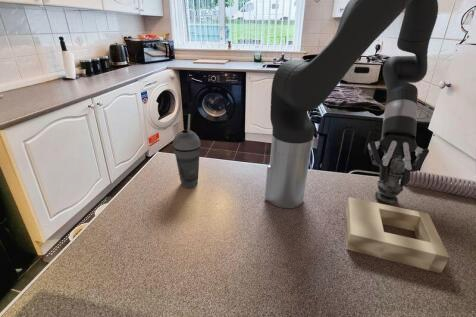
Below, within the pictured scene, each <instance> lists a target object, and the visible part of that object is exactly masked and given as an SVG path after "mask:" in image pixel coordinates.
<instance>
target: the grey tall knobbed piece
mask: <svg viewBox="0 0 476 317" xmlns="http://www.w3.org/2000/svg"><path fill="white" fill-rule="evenodd" d="M401 158H402V157H401V156H399V158H392V159H391V161H390V164H389V166H388V176H387V182H386V183H381V180H380V179H379V180H378V181H377V190H378V191H376V192H375V193H374V196H375V197H376V199H377V200H379V201H381V202H384V203H386V204H396V203H398V201H399V200H398V199H399V198H398V195H399V196H400V194H401V193H402V192H403V191H404V187H402V186H400V181H401V176H403V173H402V171H403V168H404V165H405V162H404V160H402V159H401Z"/></svg>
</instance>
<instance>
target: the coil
mask: <svg viewBox="0 0 476 317" xmlns="http://www.w3.org/2000/svg"><path fill="white" fill-rule="evenodd" d="M406 186H411V187H416V188H420V189H425V190H427V189H428V190H429V189H430V191H431V190H432V189H433V190H432V191H437V192H441V191H442V192H441V193H446V194H450V193H451V194H450V195H456V196H461V197H467V198H470V199H471V198H473V199H476V180H472V179H466V178H465V179H464V178H461V177H460V178H459V177H454V176H450V175H445V174H443V175H441V174H439V173H432V172H428V171H423V170H422V171H421V170H416V171H415V172H410V182H409V183H408V184H407V185H406Z"/></svg>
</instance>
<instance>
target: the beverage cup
mask: <svg viewBox="0 0 476 317" xmlns="http://www.w3.org/2000/svg"><path fill="white" fill-rule="evenodd" d="M187 116H188V117H187V118H188V119H187V129H184V130H181V131H179V132H178V133H177V134H176V135H175V136H174V138H173V141H172V149H173V152H174V155H175V159H176V160H175V161H176V165H177V169H178V170H177V171H178V175H179V180H180V184H181V186H182V187H183V188H184V189H192V188H196V187H197V186H198V185H199V182H198V181H199V171H200V170H199V169H200V152H201V147H202V144H201V140H200V137H199V136H198V135H197V133H196V132H194V131H192V130H191V113H189V114H187Z"/></svg>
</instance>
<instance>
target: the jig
mask: <svg viewBox="0 0 476 317" xmlns="http://www.w3.org/2000/svg"><path fill="white" fill-rule="evenodd" d="M344 212H345V213H344V214H345V215H344V216H345V218H344V219H345V249H346V250H347V251H352V252H355V253H360V254H364V255H367V256H371V257H375V258H379V259H383V260H387V261H392V262H395V263H399V264H402V265H406V266H410V267H415V268H418V269H422V270H425V271H430V272H435V273H438V274H442V272H443V270H444V269H445V267H446V265H447V263H448V261H449V260H450V256H449V253H448V251H447V249H446V247H445V245H444V243H443V241H442V239H441V237H440V235H439V232H438V230H437V229H436V226H435V225H434V223H433V220H432V218H431V216H430V214H429V212H428V213H427V212H423V211H418V210H414V209H413V210H412V209H409V208H408V209H407V208H403V207H398V206H395V205H388V204H384V203H379V202H374V201H368V200H364V199H358V198H355V197H354V198H353V197H348V199H347V203H346V208H345V210H344ZM383 225H385V226H389V227H394V228H398V229H403V230H407V231H412V232H414V234H415V238H413V237H408V236H403V235H399V234H394V233H391V232H387V231H386V232H385V231H384V226H383Z"/></svg>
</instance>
